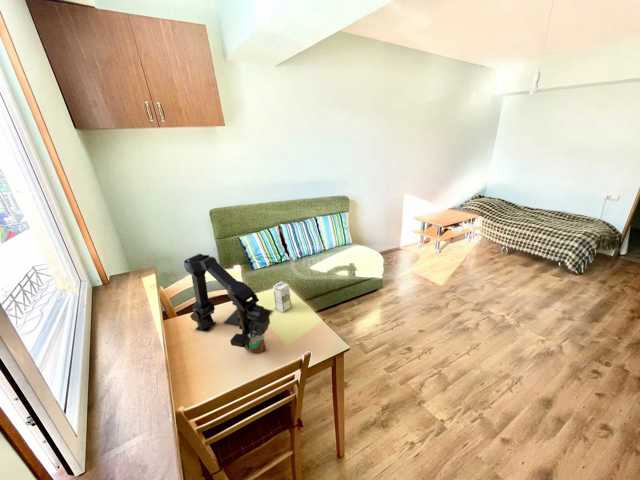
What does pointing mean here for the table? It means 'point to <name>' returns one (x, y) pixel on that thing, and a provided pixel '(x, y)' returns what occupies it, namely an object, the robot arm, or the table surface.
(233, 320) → the desk pad
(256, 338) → the food container
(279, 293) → the syrup box
